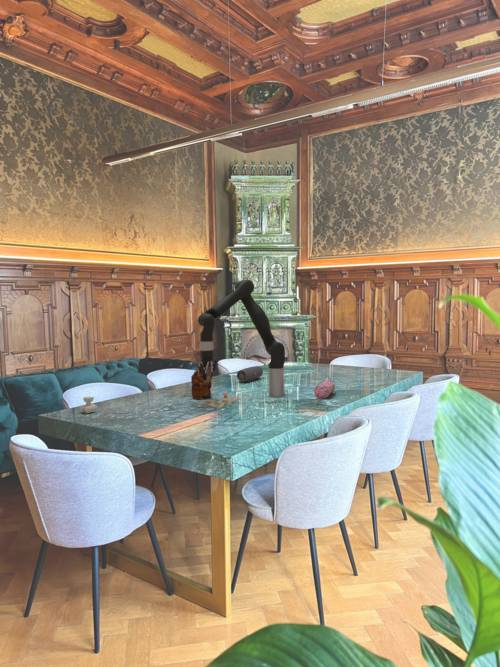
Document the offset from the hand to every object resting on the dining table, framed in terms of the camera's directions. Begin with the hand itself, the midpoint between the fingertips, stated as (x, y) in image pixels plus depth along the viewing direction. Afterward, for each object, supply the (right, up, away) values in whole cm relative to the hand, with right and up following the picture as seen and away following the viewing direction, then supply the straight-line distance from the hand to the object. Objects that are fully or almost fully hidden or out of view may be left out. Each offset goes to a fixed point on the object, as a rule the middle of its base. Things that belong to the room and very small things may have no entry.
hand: (207, 379), depth 255 cm
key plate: (+12, -13, +13) cm, 22 cm away
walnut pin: (0, -1, 0) cm, 1 cm away
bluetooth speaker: (+24, -9, +75) cm, 79 cm away
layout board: (+5, -14, +2) cm, 15 cm away
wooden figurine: (-5, -14, +18) cm, 23 cm away
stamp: (-63, -17, -12) cm, 66 cm away
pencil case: (+70, -12, +19) cm, 73 cm away
